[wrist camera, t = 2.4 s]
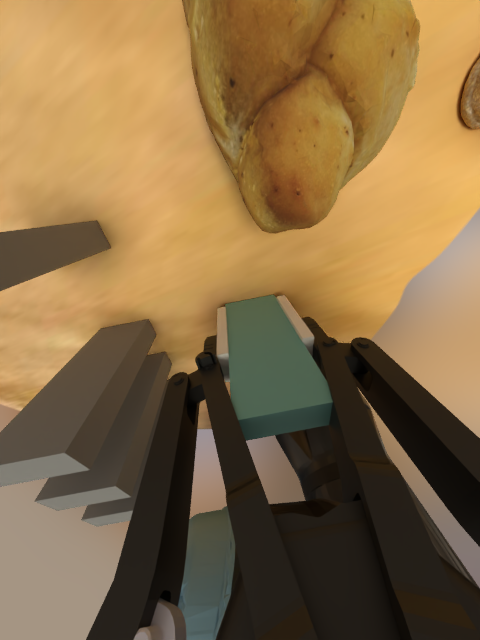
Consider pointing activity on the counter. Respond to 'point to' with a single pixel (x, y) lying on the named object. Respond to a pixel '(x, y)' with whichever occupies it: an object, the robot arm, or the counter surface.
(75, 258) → the end domino
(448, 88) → the counter surface
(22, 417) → the domino
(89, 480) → the domino
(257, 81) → the bread roll
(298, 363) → the teal domino
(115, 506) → the domino
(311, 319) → the robot arm
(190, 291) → the counter surface
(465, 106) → the sprinkles bottle
